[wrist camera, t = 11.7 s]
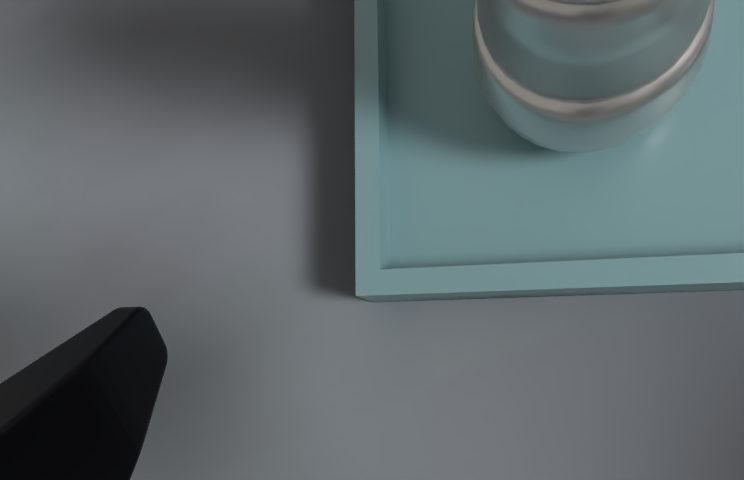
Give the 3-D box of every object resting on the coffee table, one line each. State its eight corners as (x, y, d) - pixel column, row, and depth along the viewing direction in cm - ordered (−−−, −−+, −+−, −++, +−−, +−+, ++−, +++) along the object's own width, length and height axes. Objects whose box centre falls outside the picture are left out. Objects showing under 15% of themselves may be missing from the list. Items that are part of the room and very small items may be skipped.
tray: (863, 285, 20) (899, 276, 18) (373, 302, 24) (355, 295, 21) (802, -160, 23) (827, -214, 20) (370, -83, 26) (353, -122, 24)
